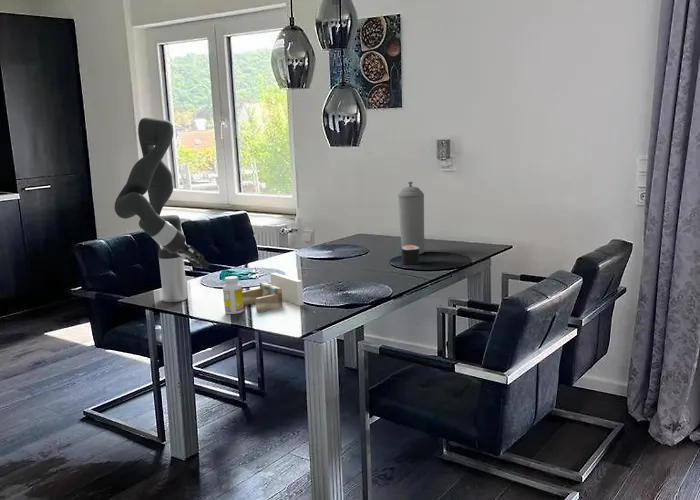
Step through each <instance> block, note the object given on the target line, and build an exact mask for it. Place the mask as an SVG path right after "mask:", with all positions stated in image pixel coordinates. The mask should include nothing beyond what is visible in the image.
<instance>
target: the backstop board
mask: <svg viewBox="0 0 700 500" xmlns="http://www.w3.org/2000/svg"><path fill="white" fill-rule="evenodd" d="M270 285H273V286H276V287H279V288H282V301H285V302H288V303H290V304H293V305H296V306H304V292H303V291H304V290H303V281H302V280H300V279H297V278H293V277H291V276H287V275H284V274H281V273H277V272H272V273H270Z"/></svg>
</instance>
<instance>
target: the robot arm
mask: <svg viewBox="0 0 700 500" xmlns="http://www.w3.org/2000/svg"><path fill="white" fill-rule="evenodd" d="M137 127H138V128H137V135H138V141H139V146H140V148H141V149H140V150H141V153H142V157H141V158H139V160H137V161H136V163H135V164H134V165H133V166H132V168H131V170H130V173H129V175H128V177H127V181H126V182H125V185H124V186H123V188H122V189H121V191H120V192H119V194H118V196H117V197H116V199H115V201H114V212H115V213H116V215H117V216H118V218H120V219H131V218H133V217H134V216H138V217H139V218H140V219H139V221H138V226H139V227H140V229H141V230H142V231H144V232H145V233H146V234H147V235H149V236H150V238H152V239H153V241H155V242H156V243H157V244H159V245H160V246H161V247H162V248H159V250H158V255H157V256H158V261H159V262H158V263H159V272H160V280H161V281H160V283H161V292H162V301H163V302H166V303H177V302H182V301H185V300H187V299H188V290H187V289H188V288H187V280H186V279H187V278H186V272H185V271H186V270H185V261H184V260H186V261H188V262H189V263H190V264H192V266H197V265H198V264H199V265H201V266H202V267H203V268H204V269H205V270H206V269H208V268H209V267H210V265H211V263H210V261H209V262H208V260H206V259H205V258H204V257H205V256H204V254H202V253H201V252H200V251H198V250H197V249H196V248H195V247H194V246H192V245H189V244H186V241H187V240H186V236H185V234H184V233H182V224H181V218H180V217H179V215H177V214H171V215H170V214H169V215H161V213H162V210H163V208H164V206H165V205H166V203H167V202H168V201H169V199H170V198H171V196H172V194H173V192H174V183H173V175H172V171H171V170H170V168H169V167H168V165H167V164H166V163H165V162H164V161H163V158H164V157H165V155H166V152H167V151H168V149H169V147H170V146H171V144H172V142H173V138H174V125H173V123H172V122H171V121H170V120H167V119H161V118H160V119H159V118H152V117H142V118H141V119H140V120H139V122H138V126H137ZM146 193H147V195H148V199H147V198H146V197H145V196H144V195H145V194H146ZM148 200H149V201H148Z"/></svg>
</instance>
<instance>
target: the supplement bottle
mask: <svg viewBox="0 0 700 500" xmlns="http://www.w3.org/2000/svg"><path fill="white" fill-rule="evenodd" d="M224 282H225V284H224V285H223V287H222V291H223V292H222V293H223V303H224V311H225V313H226V314H228V315H237V314H240V313H244V311H245V308H244V306H245V305H244V306H243V296H242V291H243V288H242V287H243V286H242V284H241V283H239V276H237V275H231V276H226V277H224Z"/></svg>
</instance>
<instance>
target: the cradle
mask: <svg viewBox="0 0 700 500" xmlns="http://www.w3.org/2000/svg"><path fill="white" fill-rule="evenodd" d="M242 296H243V306H247V305H253V304H255V307H256V308H255V311H256V313H262V312H267V311H272V310H276V309H279V308H283V307H284V305H283V300H282V288H279V287H276V286H273V285H271V283H267V282H264V281H262V282H259V287H256V288H253V289H248V290H244V291H243V290H242Z"/></svg>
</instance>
